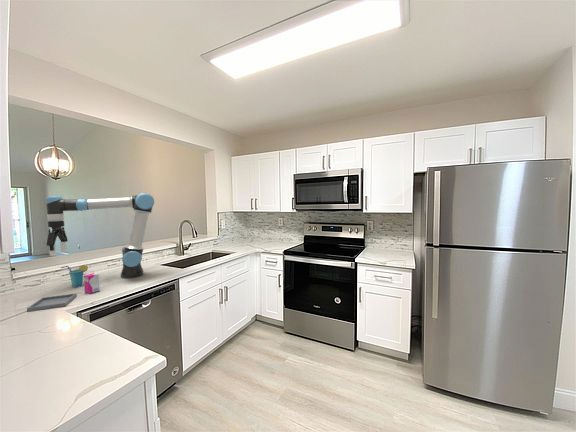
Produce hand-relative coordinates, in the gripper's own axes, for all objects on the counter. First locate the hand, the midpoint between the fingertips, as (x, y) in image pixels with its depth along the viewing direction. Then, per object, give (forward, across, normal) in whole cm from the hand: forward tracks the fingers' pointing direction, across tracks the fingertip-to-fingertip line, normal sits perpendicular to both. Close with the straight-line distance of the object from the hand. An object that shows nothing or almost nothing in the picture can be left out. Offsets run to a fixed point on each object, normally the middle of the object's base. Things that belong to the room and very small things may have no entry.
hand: (58, 253), depth 155 cm
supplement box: (+25, +10, +19) cm, 33 cm away
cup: (+25, -7, +5) cm, 26 cm away
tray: (+24, +24, +6) cm, 34 cm away
